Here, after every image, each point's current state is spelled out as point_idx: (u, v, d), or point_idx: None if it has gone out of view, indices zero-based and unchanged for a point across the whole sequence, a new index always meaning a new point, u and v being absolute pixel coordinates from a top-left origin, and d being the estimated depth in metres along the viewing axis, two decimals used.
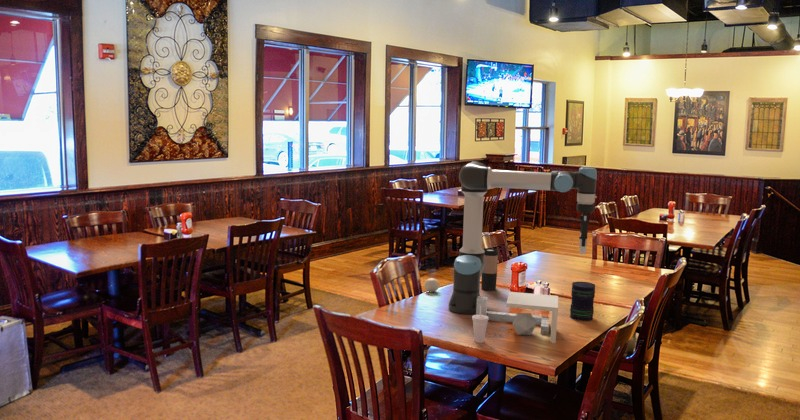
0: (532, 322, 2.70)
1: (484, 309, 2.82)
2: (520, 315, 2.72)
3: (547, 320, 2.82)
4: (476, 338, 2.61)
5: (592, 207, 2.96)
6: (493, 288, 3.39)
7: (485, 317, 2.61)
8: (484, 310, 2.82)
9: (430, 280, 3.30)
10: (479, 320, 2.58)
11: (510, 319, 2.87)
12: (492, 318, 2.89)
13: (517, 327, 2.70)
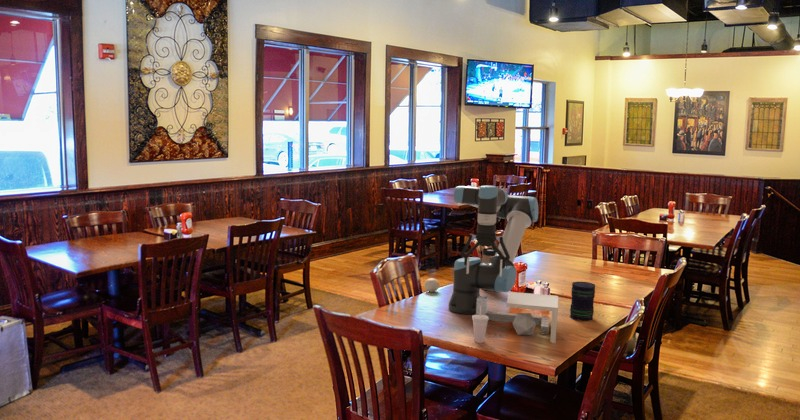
0: (532, 322, 2.70)
1: (484, 309, 2.82)
2: (520, 315, 2.72)
3: (547, 320, 2.82)
4: (476, 338, 2.61)
5: (480, 227, 2.77)
6: None
7: (485, 317, 2.61)
8: (484, 310, 2.82)
9: (430, 280, 3.30)
10: (479, 320, 2.58)
11: (510, 319, 2.87)
12: (492, 318, 2.89)
13: (517, 327, 2.70)
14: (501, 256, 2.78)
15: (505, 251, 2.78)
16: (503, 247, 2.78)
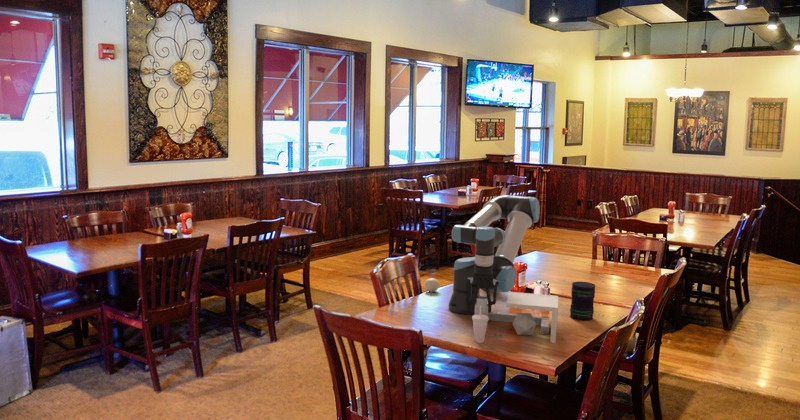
0: (532, 322, 2.70)
1: (484, 309, 2.82)
2: (520, 315, 2.72)
3: (547, 320, 2.81)
4: (476, 338, 2.61)
5: (477, 269, 2.79)
6: None
7: (485, 317, 2.61)
8: (484, 310, 2.82)
9: (430, 280, 3.30)
10: (479, 320, 2.58)
11: (510, 319, 2.87)
12: (492, 318, 2.89)
13: (517, 327, 2.70)
14: (489, 300, 2.82)
15: (494, 296, 2.81)
16: (495, 291, 2.81)
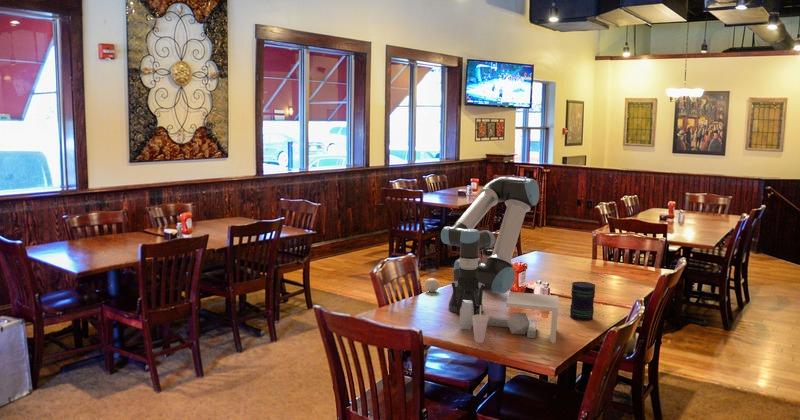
0: (525, 321, 2.70)
1: (469, 313, 2.75)
2: (514, 314, 2.72)
3: (534, 324, 2.75)
4: (476, 338, 2.61)
5: (461, 272, 2.73)
6: None
7: (485, 317, 2.61)
8: (469, 314, 2.75)
9: (430, 280, 3.30)
10: (479, 320, 2.58)
11: (496, 323, 2.81)
12: None
13: (510, 326, 2.71)
14: (474, 304, 2.75)
15: (480, 299, 2.74)
16: (480, 295, 2.74)
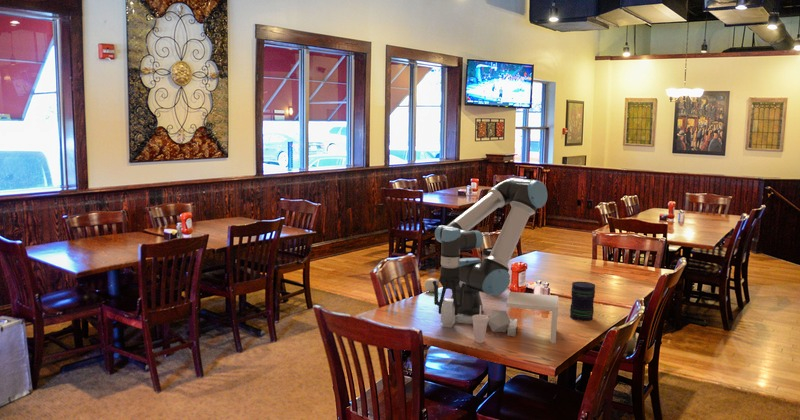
0: (506, 319, 2.72)
1: (450, 311, 2.77)
2: (494, 312, 2.74)
3: (515, 322, 2.77)
4: (476, 338, 2.61)
5: (442, 270, 2.74)
6: None
7: (485, 317, 2.61)
8: (450, 312, 2.77)
9: (430, 280, 3.30)
10: (479, 320, 2.58)
11: None
12: (459, 320, 2.84)
13: (491, 324, 2.73)
14: (455, 303, 2.77)
15: (461, 298, 2.76)
16: (461, 293, 2.76)
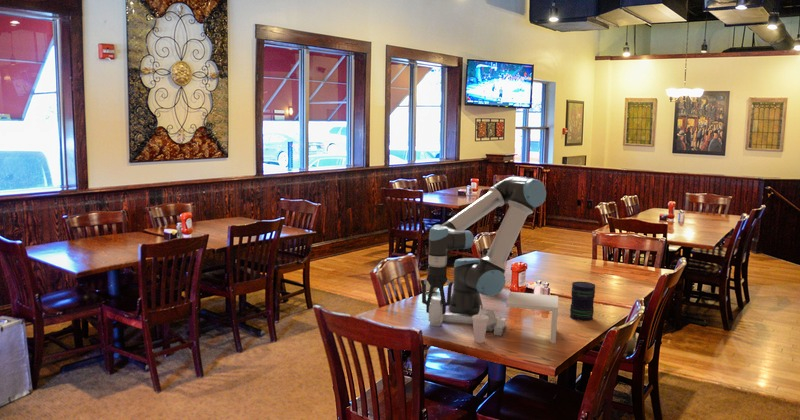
0: (493, 318, 2.73)
1: (438, 310, 2.78)
2: (481, 311, 2.75)
3: (502, 321, 2.77)
4: (476, 338, 2.61)
5: (430, 269, 2.76)
6: None
7: (485, 317, 2.61)
8: (438, 311, 2.78)
9: None
10: (479, 320, 2.58)
11: (466, 320, 2.83)
12: (448, 319, 2.85)
13: None
14: (443, 301, 2.78)
15: (448, 297, 2.77)
16: (448, 292, 2.77)
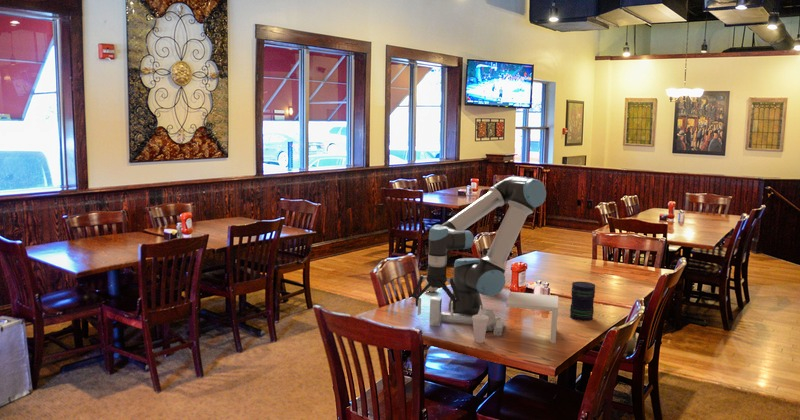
0: (492, 318, 2.73)
1: (438, 310, 2.78)
2: (481, 311, 2.75)
3: (501, 321, 2.78)
4: (476, 338, 2.61)
5: (430, 269, 2.76)
6: None
7: (485, 317, 2.61)
8: (438, 311, 2.78)
9: None
10: (479, 320, 2.58)
11: (465, 320, 2.84)
12: (447, 319, 2.86)
13: None
14: (451, 298, 2.77)
15: (455, 293, 2.76)
16: (453, 289, 2.76)
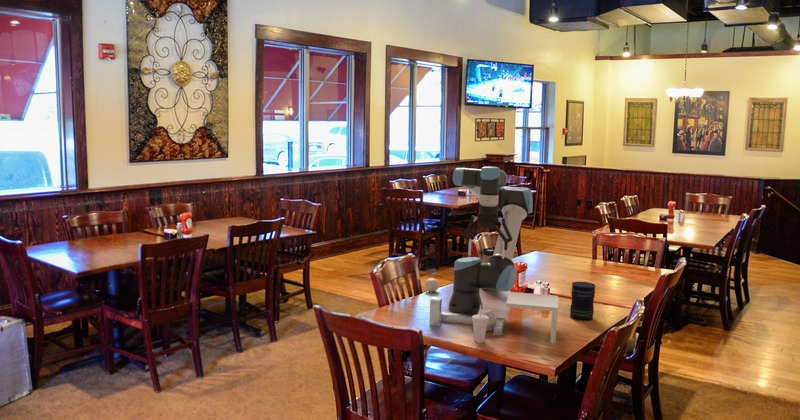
0: (492, 318, 2.73)
1: (438, 310, 2.78)
2: (481, 311, 2.75)
3: (501, 321, 2.78)
4: (476, 338, 2.61)
5: (481, 209, 2.74)
6: None
7: (485, 317, 2.61)
8: (438, 311, 2.78)
9: (430, 280, 3.30)
10: (479, 320, 2.58)
11: (465, 320, 2.84)
12: (447, 319, 2.86)
13: None
14: (503, 238, 2.75)
15: (507, 233, 2.74)
16: (505, 229, 2.74)
